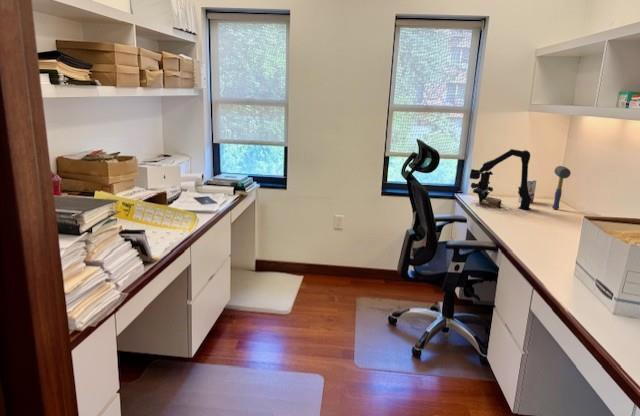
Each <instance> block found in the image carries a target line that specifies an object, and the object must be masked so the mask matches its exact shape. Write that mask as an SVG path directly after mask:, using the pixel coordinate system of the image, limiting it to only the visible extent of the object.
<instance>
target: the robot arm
mask: <svg viewBox="0 0 640 416" xmlns="http://www.w3.org/2000/svg"><path fill="white" fill-rule="evenodd" d="M512 156H513V157H517V158H520V160H521V180H520V181H521V182H520V185H519V186H518V187H517V188H518V191H517V193H518V196H519V195H520V197H521V198H522V199H521V203H520V206H519V207H518V208H517V209H521V210H525V211H529V210H531V209H532V208H531V207H530V206H531V202H530V201H531V196H530V195H529V192H528V186H527V180H528V178H529V177H528V176H529V175H528V171H529V163H530V159H531V152H530V151H528V150H526V149H524V150H519V149H514V148H510V149H509V150H507V151H506V152H505V153H502V154H501V155H499V156H497V157H495V158H494V159H491V160H489V161H486V162H484V163H483V164H482V167H480V168H479V169H474V168H471V170H470V174H469V179H471V180H479V179H480V180H479V181H478V183H475V182H471V184H470V187H471V189H473V190H472V193H473V194H477V196H478V203H479V202H482V200H485V198H486V197H489V194H490V193H491V192H493V191H494V187H493V186H489V184H491V182H490V176H493V175H494V173H493V172H492V171H491V170H492V169H494V167H496V166H497V165H498V164H500V163H502V162H504V161H505V160H507V159H509V158H510V157H512Z"/></svg>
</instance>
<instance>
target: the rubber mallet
mask: <svg viewBox="0 0 640 416" xmlns="http://www.w3.org/2000/svg"><path fill="white" fill-rule="evenodd" d="M554 174H555V175H556V176H557V177H558V184H557V187H556V190H555V192H554V201H553V204H552V209H553V210H555V211H557V210H559V208H560V201H561V198H562V191H563V190H562V187H563V182H564V179H567V178H568V179H569V178H570V176H571V174H572V173H571V170H570V169H569V168H568V167H566V166H563V165H558V166H556V167H555V169H554Z"/></svg>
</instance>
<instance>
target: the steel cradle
mask: <svg viewBox="0 0 640 416" xmlns="http://www.w3.org/2000/svg"><path fill="white" fill-rule="evenodd" d="M490 199H498V200H502V199H501V198H497V197H492V196H487V197H486V198H485V200H488V201H489V200H490Z"/></svg>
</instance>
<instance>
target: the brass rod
mask: <svg viewBox="0 0 640 416" xmlns="http://www.w3.org/2000/svg"><path fill="white" fill-rule="evenodd" d="M488 202H489V201H488V200H482V202H479V201H478V203H479V204H481V205H482V204H483V205H487V206H488Z"/></svg>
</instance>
